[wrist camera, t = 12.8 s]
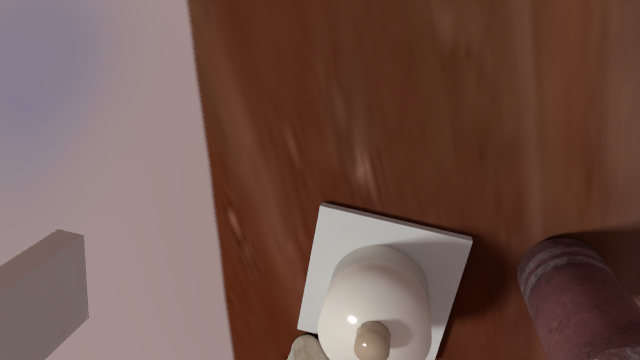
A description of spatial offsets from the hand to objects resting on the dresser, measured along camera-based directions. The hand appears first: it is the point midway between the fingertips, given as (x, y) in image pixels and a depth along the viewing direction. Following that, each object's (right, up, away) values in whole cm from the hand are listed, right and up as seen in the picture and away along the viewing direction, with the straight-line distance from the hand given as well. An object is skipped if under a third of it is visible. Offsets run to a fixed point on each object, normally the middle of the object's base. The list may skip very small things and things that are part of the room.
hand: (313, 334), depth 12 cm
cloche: (+5, -5, +27) cm, 28 cm away
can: (+19, -3, +24) cm, 31 cm away
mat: (+5, -5, +27) cm, 28 cm away
